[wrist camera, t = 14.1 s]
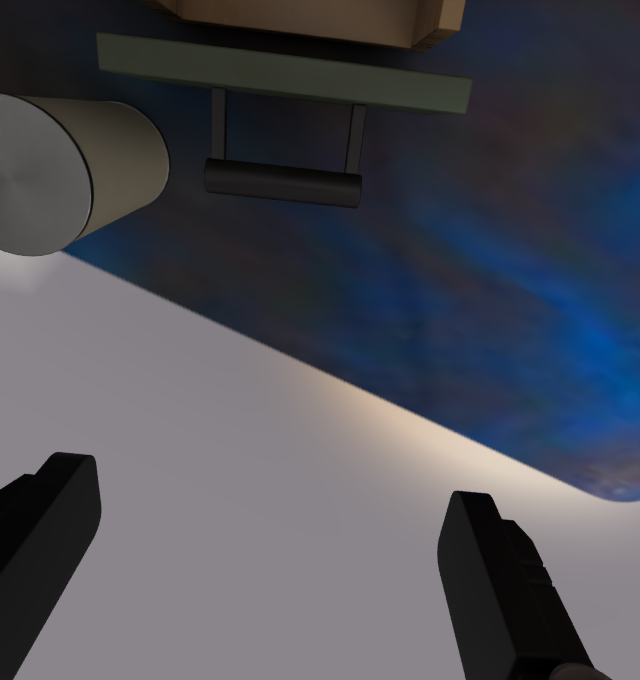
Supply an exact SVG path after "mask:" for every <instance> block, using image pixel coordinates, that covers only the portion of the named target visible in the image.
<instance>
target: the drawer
mask: <svg viewBox="0 0 640 680" xmlns="http://www.w3.org/2000/svg"><path fill="white" fill-rule="evenodd" d="M140 1H141V2H143V3H144V4H146V5H147V6H149V7H151V8H152V9H154V10H155V11H157V12H158V13H160V14H161V15H163V16H164V17H166V18H167V19H169V20H171V21H178V22H186V23H194V24H202V25H209V26H217V27H225V28H233V29H241V30H249V31H257V32H265V33H273V34H281V35H289V36H297V37H305V38H312V39H320V40H328V41H336V42H344V43H352V44H360V45H368V46H376V47H384V48H392V49H400V50H408V51H416V52H425V51H427V50H428V49H430V48H432V47H433V46H435V45H437V44H438V43H440V42H441V41H443V40H445V39H446V38H448V37H450V36H451V35H453V34H455V33H456V32H458V31H459V30H460V27H461V22H462V16H463V11H464V6H465V1H466V0H140ZM96 41H97V53H98V65H99V69H100V70H102V71H106V72H111V73H116V74H120V75H125V76H130V77H134V78H139V79H144V80H149V81H153V82H158V83H166V84H174V85H183V86H191V87H199V88H208V89H211V158H208V159H207V160H206V163H205V168H204V185H205V189H206V191H207V192H208V193H217V194H226V195H236V196H245V197H254V198H263V199H272V200H282V201H291V202H300V203H309V204H318V205H327V206H337V207H346V208H355V209H356V208H358V205H359V201H360V195H361V187H362V176H361V175H358V170H359V163H360V155H361V148H362V140H363V133H364V126H365V118H366V111H367V108H375V109H383V110H392V111H400V112H408V113H417V114H425V115H436V114H465V113H466V111H467V107H468V102H469V97H470V93H471V88H472V84H473V79H472V78H469V77H461V76H453V75H445V74H437V73H428V72H420V71H412V70H404V69H396V68H388V67H380V66H372V65H364V64H356V63H348V62H340V61H332V60H324V59H316V58H308V57H300V56H291V55H283V54H275V53H267V52H259V51H251V50H243V49H235V48H227V47H219V46H211V45H203V44H195V43H187V42H179V41H171V40H163V39H155V38H146V37H138V36H130V35H122V34H114V33H106V32H96ZM228 91H233V92H241V93H250V94H258V95H266V96H275V97H283V98H291V99H300V100H308V101H316V102H325V103H333V104H341V105H350V106H352V112H351V121H350V129H349V137H348V145H347V153H346V162H345V170H344V171H345V173H340V172H331V171H322V170H313V169H304V168H295V167H287V166H278V165H269V164H260V163H251V162H242V161H233V160H224V159H226V143H227V92H228Z"/></svg>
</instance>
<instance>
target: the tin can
mask: <svg viewBox="0 0 640 680" xmlns="http://www.w3.org/2000/svg"><path fill="white" fill-rule="evenodd" d="M169 174H170V155H169V151H168V147H167V144H166V141H165V139H164V137H163V135H162V134H161V132H160V130H159V129H158V127H157V126H156V125H155V124H154V122H153V121H152V120H151V119H150V118H149V117H148V116H146V115H145V114H144V113H143V112H141V111H140V110H138V109H136V108H135V107H132V106H130V105H128V104H125V103H121V102H116V101H88V100H73V99H59V98H45V97H31V96H16V95H10V94H5V93H0V250H2V251H5V252H8V253H12V254H16V255H22V256H43V255H47V254H52V253H54V252H57V251H59V250H62V249H63V248H65V247H67V246H68V245H70V244H72V243H73V242H74V241H76V240H78V239H80V238H82V237H84V236H86V235H88V234H90V233H92V232H94V231H96V230H97V229H99V228H101V227H103V226H105V225H107V224H109V223H111V222H113V221H115V220H117V219H119V218H121V217H123V216H125V215H127V214H129V213H131V212H133V211H135V210H137V209H139V208H142V207H144V206H147V205H148V204H150V203H152V202H153V201H154V200H156V199H157V198H158V197H159V196H160V194H161V193H162V192H163V190H164V189H165V187H166V184H167V182H168V179H169Z"/></svg>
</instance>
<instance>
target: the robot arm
mask: <svg viewBox="0 0 640 680" xmlns="http://www.w3.org/2000/svg"><path fill="white" fill-rule="evenodd" d="M100 518H101V500H100V492H99V484H98V475H97V467H96V461H95V458H94V457H93V456H92V455H83V454H74V453H63V452H56V453H54V454H53V455H51V456H50V457H49V458H48V459H47V461H46V462H45V463H44V464H43V466H42V467H41V468H40V469H39V470H38V472H37V473H36V474H35V475H32V474H24V475H22V476H21V477H19V478H17V479H16V480H14V481H13V482H11V483H10V484H8V485H7V486H5V487H3V488H2V489H0V680H13V679H14V677H15V675H16V674H17V672H18V670H19V668H20V666H21V665H22V663H23V661H24V659H25V658H26V656H27V654H28V653H29V651H30V649H31V647H32V646H33V644H34V642H35V640H36V638H37V637H38V635H39V633H40V631H41V630H42V628H43V626H44V624H45V623H46V621H47V619H48V617H49V616H50V614H51V612H52V610H53V608H54V607H55V605H56V603H57V601H58V600H59V598H60V596H61V595H62V593H63V591H64V589H65V588H66V586H67V584H68V582H69V580H70V579H71V577H72V575H73V573H74V572H75V570H76V568H77V566H78V565H79V563H80V561H81V559H82V558H83V556H84V554H85V552H86V551H87V549H88V547H89V545H90V544H91V542H92V540H93V538H94V536H95V534H96V532H97V529H98V526H99V522H100ZM437 557H438V567H439V572H440V576H441V580H442V584H443V588H444V592H445V595H446V600H447V604H448V608H449V612H450V616H451V621H452V625H453V628H454V633H455V637H456V641H457V645H458V649H459V653H460V657H461V661H462V665H463V669H464V673H465V678H466V680H612V679H610V678H609V677H608V676H606V675H605V674H603V673H602V672H600V671H598V670H597V669H595V668H594V666H593V664H592V662H591V661H590V659H589V656H588V654H587V652H586V650H585V648H584V646H583V644H582V642H581V640H580V638H579V636H578V634H577V632H576V630H575V628H574V626H573V623H572V621H571V619H570V617H569V616H568V613H567V611H566V609H565V607H564V605H563V603H562V601H561V599H560V597H559V595H558V593H557V591H556V589H555V587H553V586H552V580H551V578H550V576H549V574H548V572H547V570H546V568H545V567H543V562H542V560H541V558H540V556H539V553H538V551H537V549H536V547H535V545H534V543H533V541H532V540H531V539H530V538H529V536H528V535H527V534H526V533H525V532H524V531H523V530H522V529H521V528H520V527H519V526H518V525H517V524H516V522H515V521H514V520H504V519H501V516H500V514H499V512H498V509H497V507H496V505H495V503H494V500H493V498H492V497H491V495H489V494H487V493H476V492H466V491H454V492H453V493H452V495H451V498H450V502H449V505H448V509H447V512H446V516H445V519H444V523H443V526H442V530H441V533H440V537H439V541H438V551H437Z"/></svg>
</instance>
